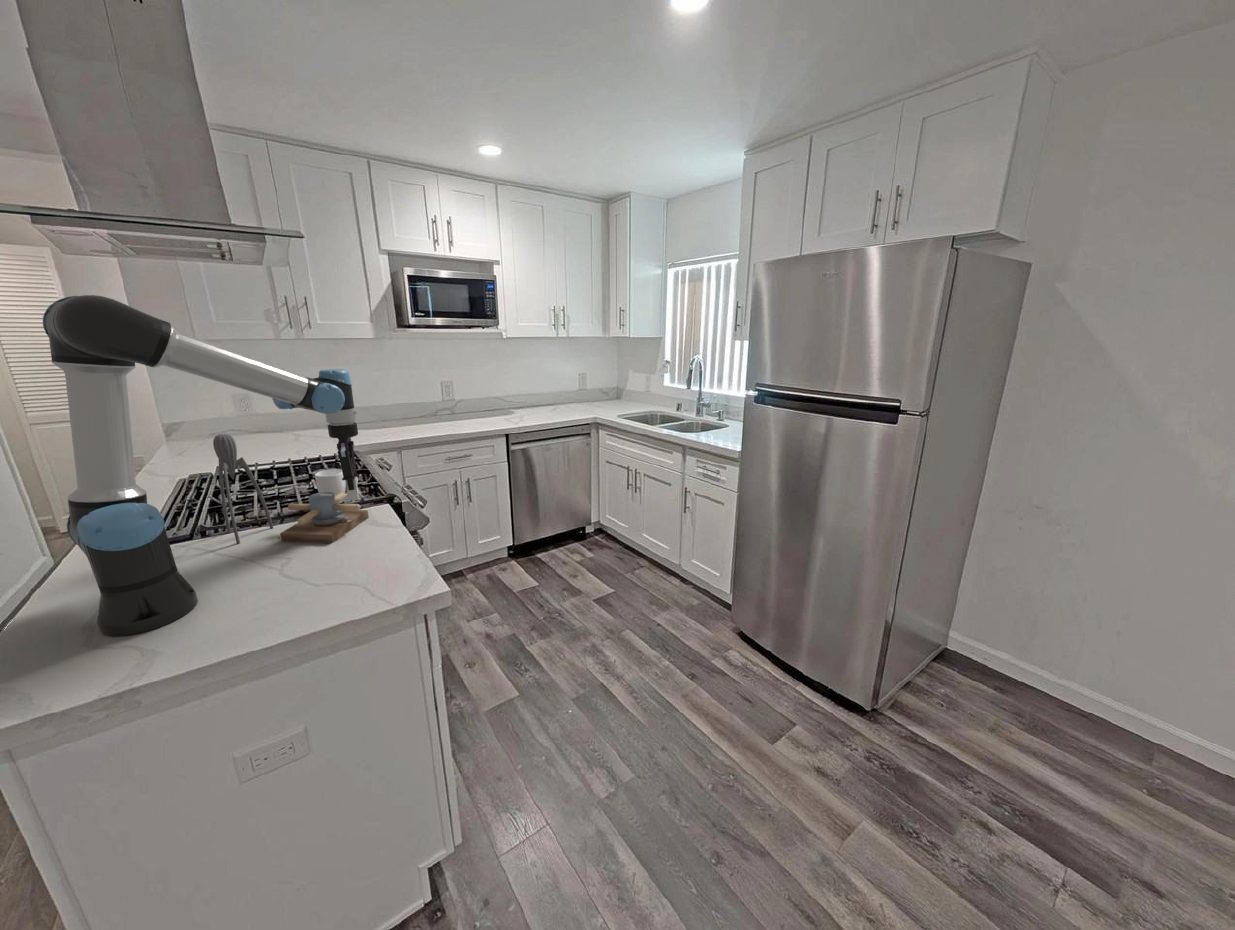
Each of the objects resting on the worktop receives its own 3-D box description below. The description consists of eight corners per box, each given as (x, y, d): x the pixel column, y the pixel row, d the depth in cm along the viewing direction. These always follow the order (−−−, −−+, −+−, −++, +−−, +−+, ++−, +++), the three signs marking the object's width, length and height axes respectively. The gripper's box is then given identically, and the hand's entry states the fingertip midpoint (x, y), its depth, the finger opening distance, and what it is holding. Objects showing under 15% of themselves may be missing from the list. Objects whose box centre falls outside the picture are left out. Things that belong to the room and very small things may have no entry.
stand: (332, 542, 134) (330, 529, 132) (281, 541, 134) (278, 528, 133) (368, 517, 151) (366, 505, 150) (323, 516, 152) (320, 504, 150)
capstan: (266, 535, 132) (260, 508, 129) (313, 507, 152) (308, 483, 149) (341, 536, 131) (336, 508, 129) (379, 507, 151) (375, 483, 149)
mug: (321, 511, 156) (314, 478, 152) (320, 503, 163) (314, 471, 159) (362, 503, 162) (357, 471, 159) (359, 496, 169) (354, 465, 165)
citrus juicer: (238, 544, 133) (211, 439, 124) (209, 541, 135) (180, 437, 126) (274, 527, 144) (251, 430, 135) (246, 524, 146) (222, 428, 137)
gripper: (353, 426, 135) (365, 504, 142) (359, 418, 147) (369, 490, 153) (323, 428, 132) (336, 507, 139) (331, 419, 144) (343, 493, 151)
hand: (353, 498), depth 146 cm, fingers closed
